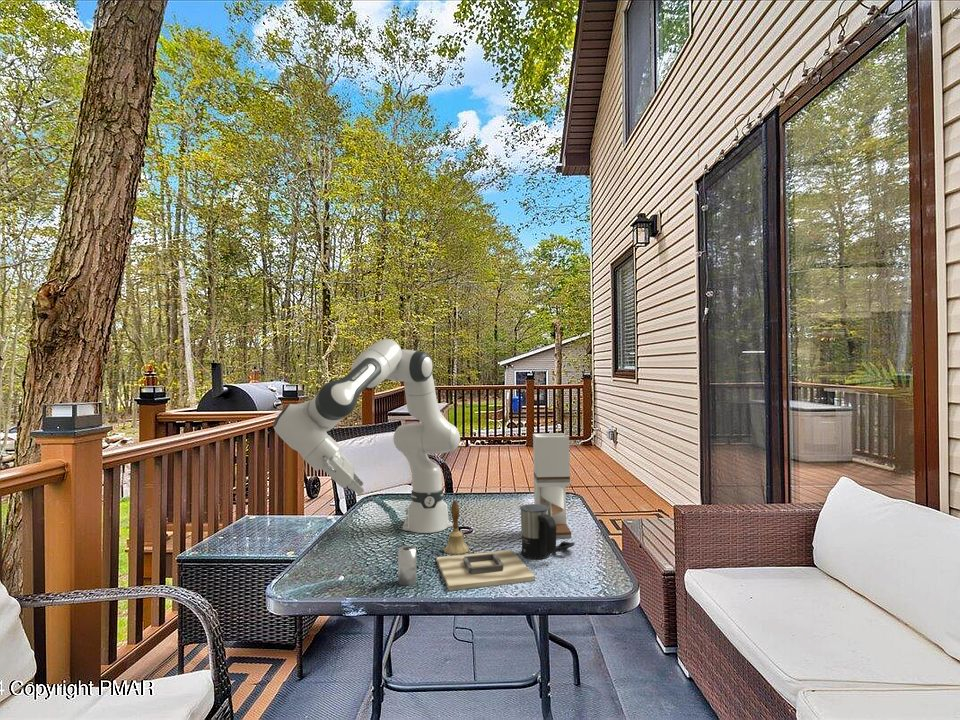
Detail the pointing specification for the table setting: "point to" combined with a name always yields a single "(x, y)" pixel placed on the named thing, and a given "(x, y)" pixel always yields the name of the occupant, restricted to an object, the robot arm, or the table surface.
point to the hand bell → (455, 535)
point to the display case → (552, 477)
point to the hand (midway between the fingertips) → (361, 489)
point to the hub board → (483, 569)
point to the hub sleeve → (407, 565)
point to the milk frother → (539, 532)
